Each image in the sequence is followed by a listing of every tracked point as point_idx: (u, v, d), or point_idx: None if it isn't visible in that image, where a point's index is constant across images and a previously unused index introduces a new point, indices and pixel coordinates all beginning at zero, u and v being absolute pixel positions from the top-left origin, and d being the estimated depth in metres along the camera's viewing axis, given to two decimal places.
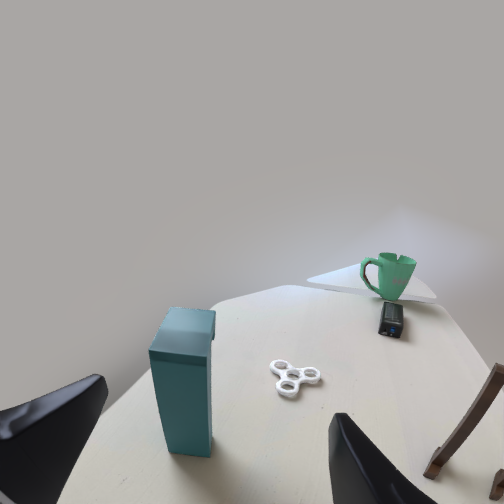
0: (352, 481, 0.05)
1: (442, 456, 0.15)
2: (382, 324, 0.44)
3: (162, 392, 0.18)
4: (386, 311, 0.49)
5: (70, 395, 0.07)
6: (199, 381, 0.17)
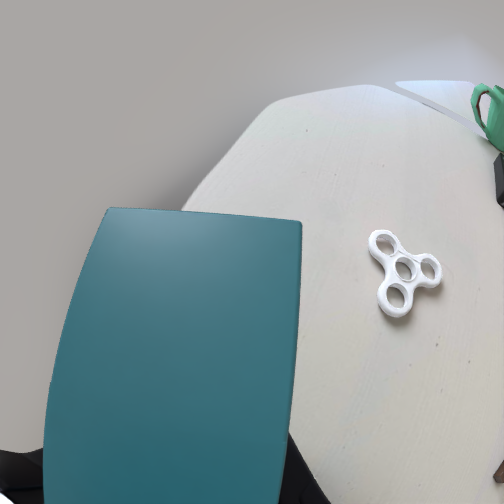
0: None
1: None
2: None
3: None
4: None
5: None
6: None
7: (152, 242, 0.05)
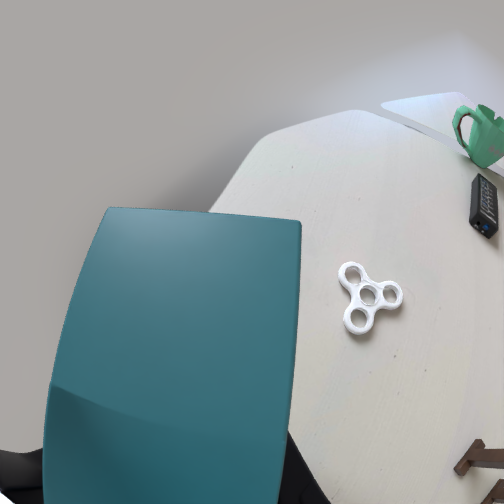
0: None
1: (477, 463, 0.12)
2: (477, 215, 0.27)
3: None
4: (481, 193, 0.29)
5: None
6: None
7: (152, 242, 0.05)
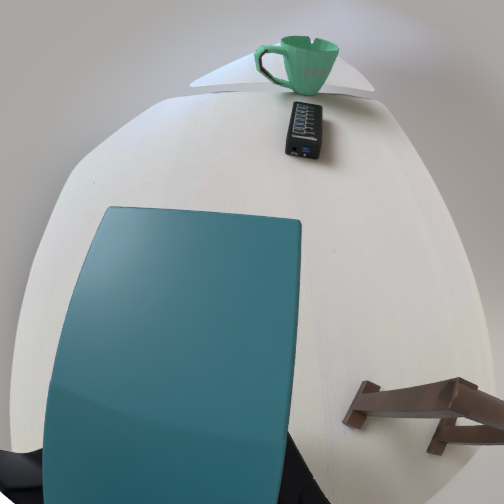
0: None
1: (365, 412, 0.17)
2: (288, 142, 0.32)
3: None
4: (296, 118, 0.34)
5: None
6: None
7: (152, 241, 0.05)
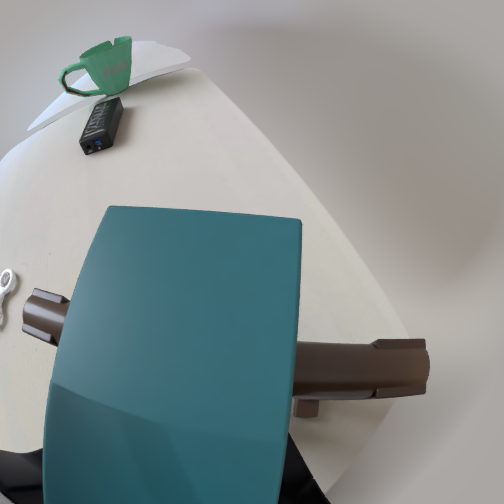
0: None
1: None
2: (81, 143, 0.28)
3: None
4: (91, 119, 0.31)
5: None
6: None
7: (152, 240, 0.05)
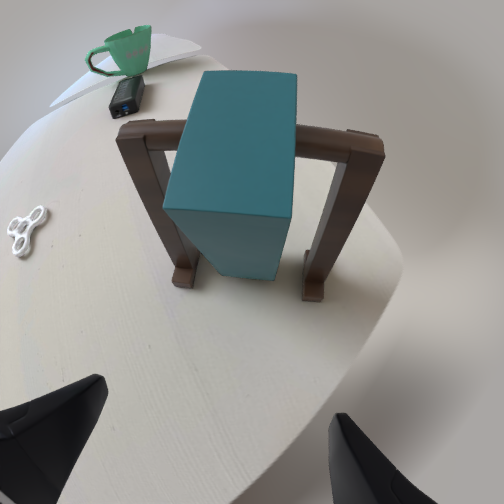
0: (352, 481, 0.05)
1: (177, 258, 0.20)
2: (110, 108, 0.33)
3: (204, 244, 0.12)
4: (118, 91, 0.35)
5: (70, 395, 0.07)
6: (270, 239, 0.10)
7: (232, 80, 0.10)
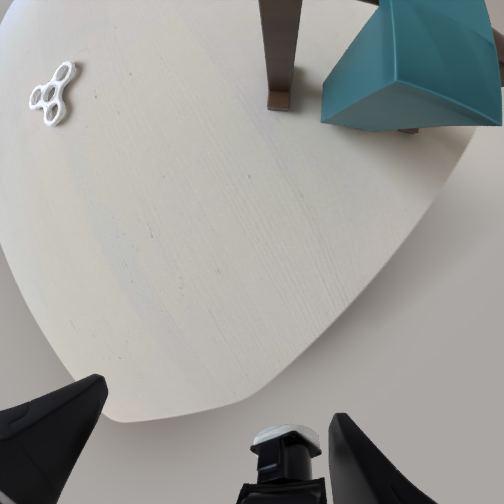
0: (352, 481, 0.05)
1: (276, 83, 0.15)
2: None
3: (369, 106, 0.09)
4: None
5: (70, 395, 0.07)
6: (452, 121, 0.07)
7: None
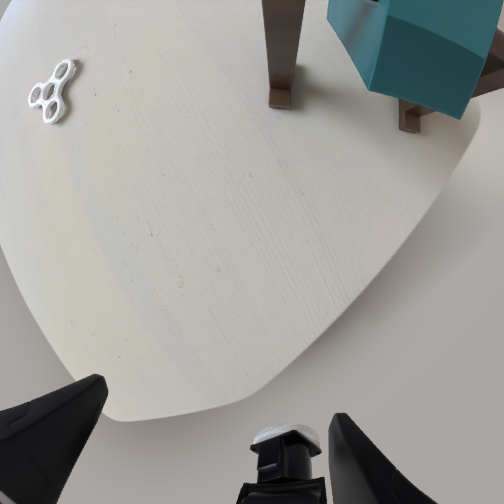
0: (352, 481, 0.05)
1: (278, 81, 0.15)
2: None
3: None
4: None
5: (70, 395, 0.07)
6: None
7: None
